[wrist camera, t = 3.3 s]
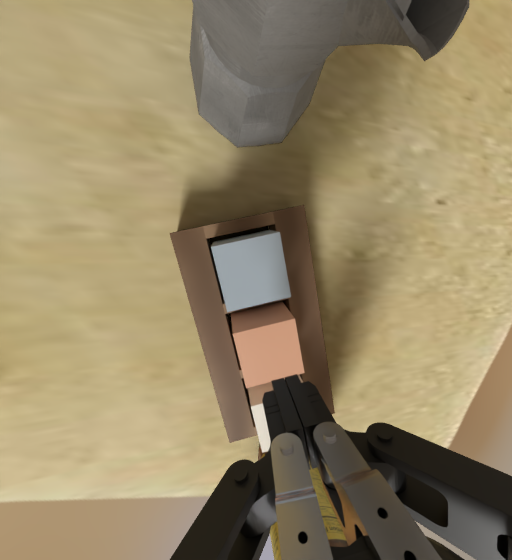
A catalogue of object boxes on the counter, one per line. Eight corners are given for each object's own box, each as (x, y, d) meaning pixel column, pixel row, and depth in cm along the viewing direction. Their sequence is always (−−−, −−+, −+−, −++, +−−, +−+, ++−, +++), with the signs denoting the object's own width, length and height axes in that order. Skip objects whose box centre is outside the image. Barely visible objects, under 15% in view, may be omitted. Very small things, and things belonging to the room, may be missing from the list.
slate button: (226, 295, 20) (227, 312, 16) (213, 241, 19) (211, 247, 15) (278, 282, 21) (291, 297, 17) (268, 229, 20) (279, 232, 16)
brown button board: (228, 417, 25) (229, 442, 22) (177, 231, 21) (169, 233, 18) (322, 391, 26) (334, 413, 23) (292, 207, 21) (304, 204, 18)
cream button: (255, 414, 23) (262, 452, 19) (245, 374, 22) (250, 406, 18) (300, 402, 24) (315, 437, 20) (293, 361, 23) (307, 391, 19)
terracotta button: (241, 358, 22) (246, 388, 18) (230, 312, 21) (232, 333, 17) (290, 346, 22) (304, 372, 18) (281, 300, 21) (295, 318, 17)
